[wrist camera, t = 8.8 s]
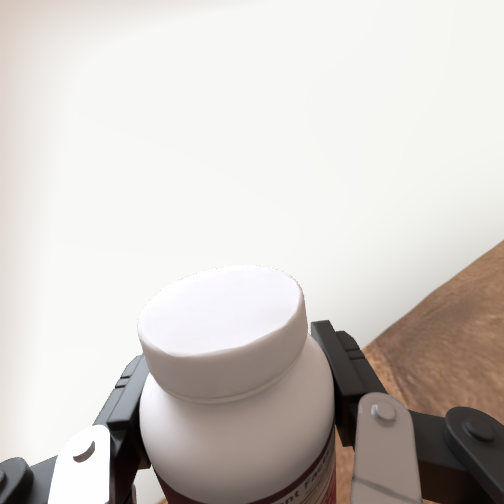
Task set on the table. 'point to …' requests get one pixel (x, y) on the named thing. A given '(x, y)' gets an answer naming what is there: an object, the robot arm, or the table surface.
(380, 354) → the table surface
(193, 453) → the pill bottle
